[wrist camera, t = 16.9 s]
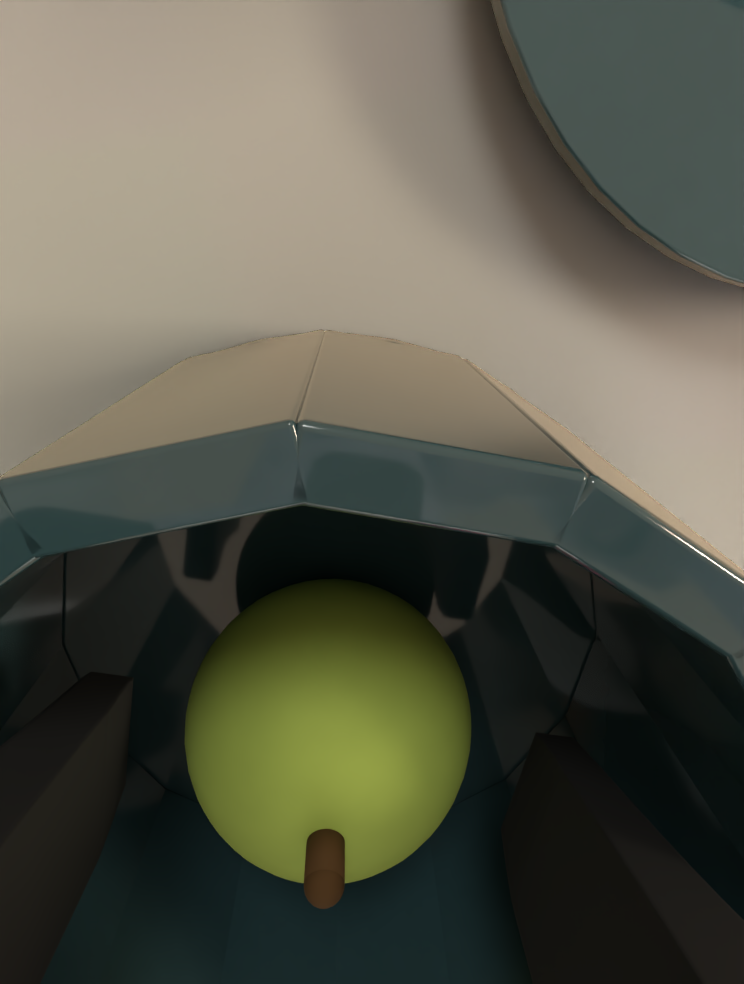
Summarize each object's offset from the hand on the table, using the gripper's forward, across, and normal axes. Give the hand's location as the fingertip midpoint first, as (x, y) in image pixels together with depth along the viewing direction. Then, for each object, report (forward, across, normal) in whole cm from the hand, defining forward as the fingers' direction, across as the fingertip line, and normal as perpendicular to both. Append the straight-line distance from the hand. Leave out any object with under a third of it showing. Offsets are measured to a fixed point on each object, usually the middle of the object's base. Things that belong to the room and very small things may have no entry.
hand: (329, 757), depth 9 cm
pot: (+4, 0, 0) cm, 4 cm away
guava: (+3, 0, 0) cm, 3 cm away
